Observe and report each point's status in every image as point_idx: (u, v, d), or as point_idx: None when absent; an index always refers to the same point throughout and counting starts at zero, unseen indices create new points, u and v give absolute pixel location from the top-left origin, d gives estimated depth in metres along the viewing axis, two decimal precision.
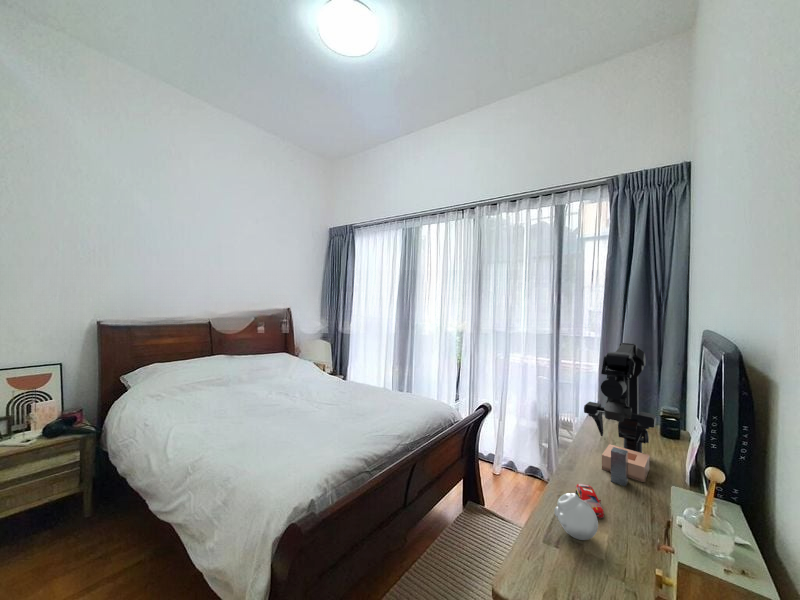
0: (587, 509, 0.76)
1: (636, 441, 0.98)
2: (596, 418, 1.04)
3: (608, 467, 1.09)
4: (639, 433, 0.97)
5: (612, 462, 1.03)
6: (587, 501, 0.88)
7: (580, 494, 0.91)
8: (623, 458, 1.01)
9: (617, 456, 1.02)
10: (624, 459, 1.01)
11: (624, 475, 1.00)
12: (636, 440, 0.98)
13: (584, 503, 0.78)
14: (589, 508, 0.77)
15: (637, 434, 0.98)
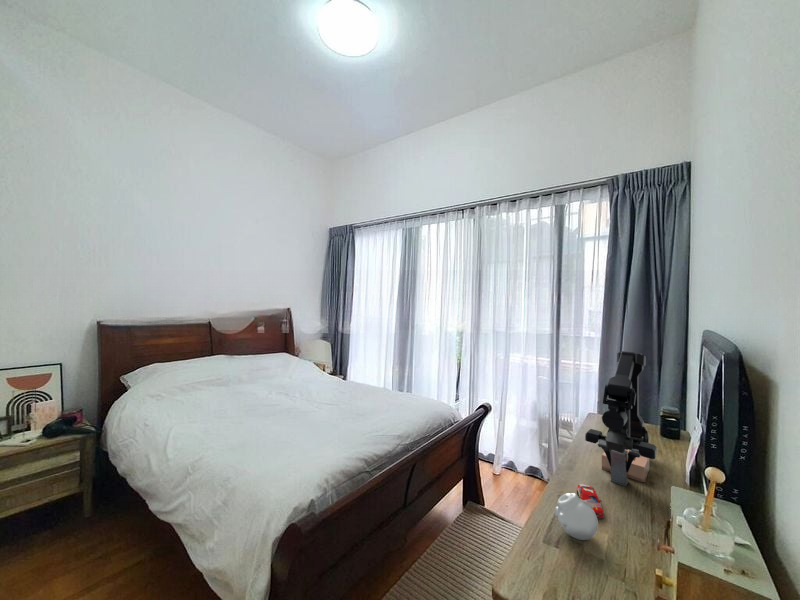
0: (587, 509, 0.76)
1: (627, 468, 1.01)
2: (606, 449, 1.04)
3: (608, 467, 1.09)
4: (630, 461, 1.00)
5: (612, 462, 1.03)
6: (587, 501, 0.88)
7: (581, 494, 0.91)
8: (623, 458, 1.01)
9: (617, 456, 1.02)
10: (624, 459, 1.01)
11: (624, 475, 1.00)
12: (627, 467, 1.01)
13: (584, 503, 0.78)
14: (589, 508, 0.77)
15: (628, 462, 1.00)
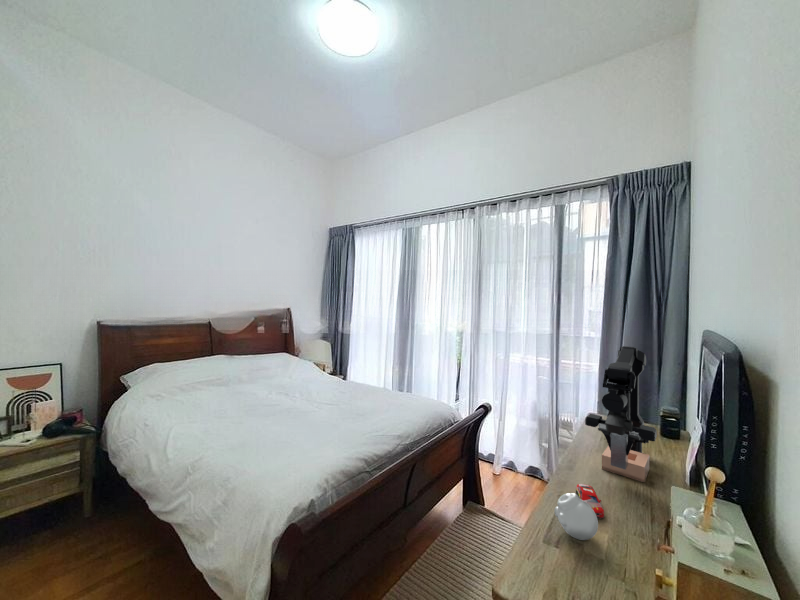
0: (587, 509, 0.76)
1: (627, 452, 1.01)
2: (606, 433, 1.04)
3: (608, 467, 1.09)
4: (630, 444, 1.00)
5: (612, 446, 1.03)
6: (587, 501, 0.88)
7: (580, 494, 0.91)
8: (623, 441, 1.01)
9: (617, 440, 1.02)
10: (624, 442, 1.01)
11: (624, 458, 1.00)
12: (627, 451, 1.01)
13: (584, 503, 0.78)
14: (589, 508, 0.77)
15: (628, 445, 1.00)
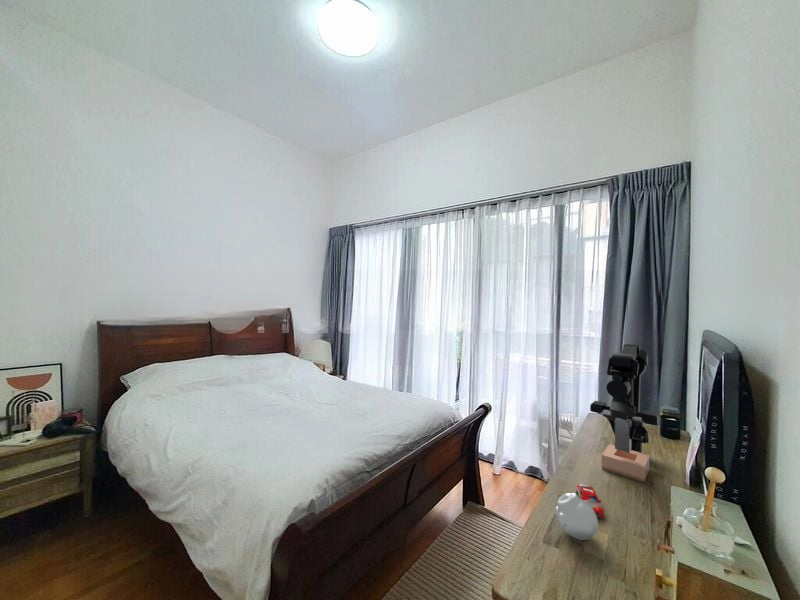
0: (587, 509, 0.76)
1: (631, 436, 1.06)
2: (610, 418, 1.09)
3: (608, 467, 1.09)
4: (634, 428, 1.05)
5: (616, 430, 1.08)
6: (588, 501, 0.88)
7: (581, 494, 0.91)
8: (627, 426, 1.05)
9: (621, 425, 1.07)
10: (628, 427, 1.05)
11: (628, 442, 1.05)
12: (631, 435, 1.06)
13: (584, 503, 0.78)
14: (589, 508, 0.77)
15: (632, 429, 1.05)
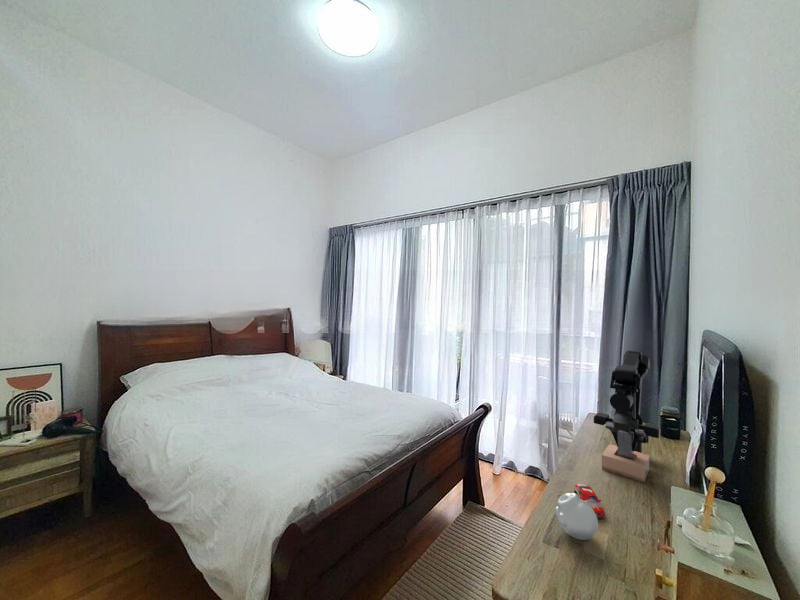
0: (587, 509, 0.76)
1: (633, 448, 1.09)
2: (613, 430, 1.12)
3: (608, 467, 1.09)
4: (636, 440, 1.08)
5: (619, 442, 1.11)
6: (588, 501, 0.88)
7: (580, 494, 0.91)
8: (629, 438, 1.09)
9: (624, 436, 1.10)
10: (630, 439, 1.09)
11: (630, 454, 1.08)
12: (633, 447, 1.09)
13: (584, 503, 0.78)
14: (589, 508, 0.77)
15: (634, 441, 1.08)
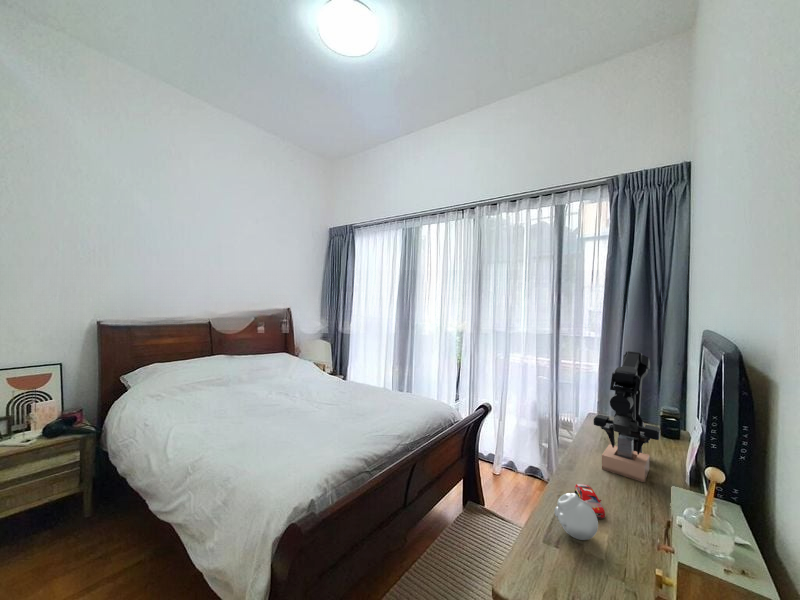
0: (587, 509, 0.76)
1: (638, 451, 1.08)
2: (608, 431, 1.13)
3: (608, 467, 1.09)
4: (641, 444, 1.07)
5: (618, 448, 1.11)
6: (588, 501, 0.88)
7: (580, 494, 0.91)
8: (629, 444, 1.09)
9: (624, 443, 1.10)
10: (630, 445, 1.08)
11: None
12: (638, 450, 1.08)
13: (584, 503, 0.78)
14: (589, 508, 0.77)
15: (639, 444, 1.07)
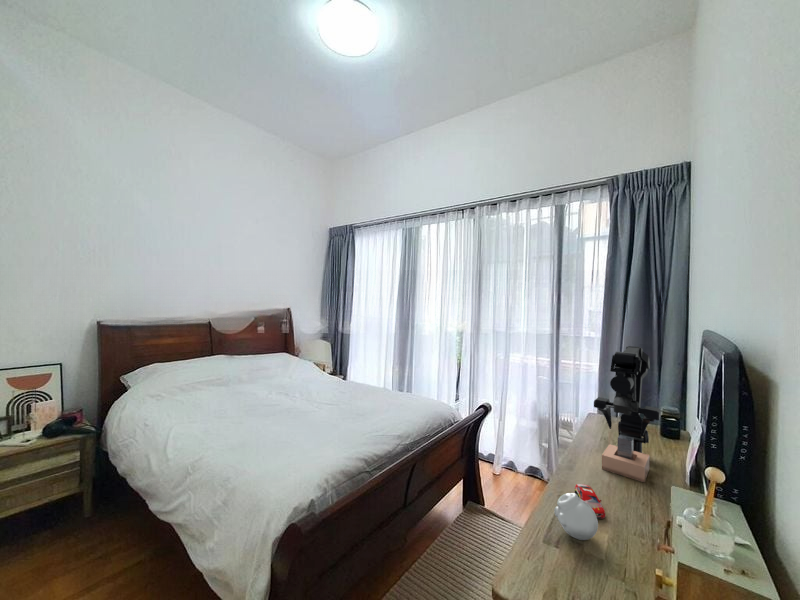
0: (586, 509, 0.76)
1: (642, 433, 1.07)
2: (605, 412, 1.13)
3: (608, 467, 1.09)
4: (645, 425, 1.06)
5: (618, 448, 1.11)
6: (588, 502, 0.88)
7: (580, 495, 0.91)
8: (629, 444, 1.09)
9: (624, 443, 1.10)
10: (630, 445, 1.08)
11: None
12: (642, 432, 1.07)
13: (584, 503, 0.78)
14: (589, 508, 0.77)
15: (643, 426, 1.07)
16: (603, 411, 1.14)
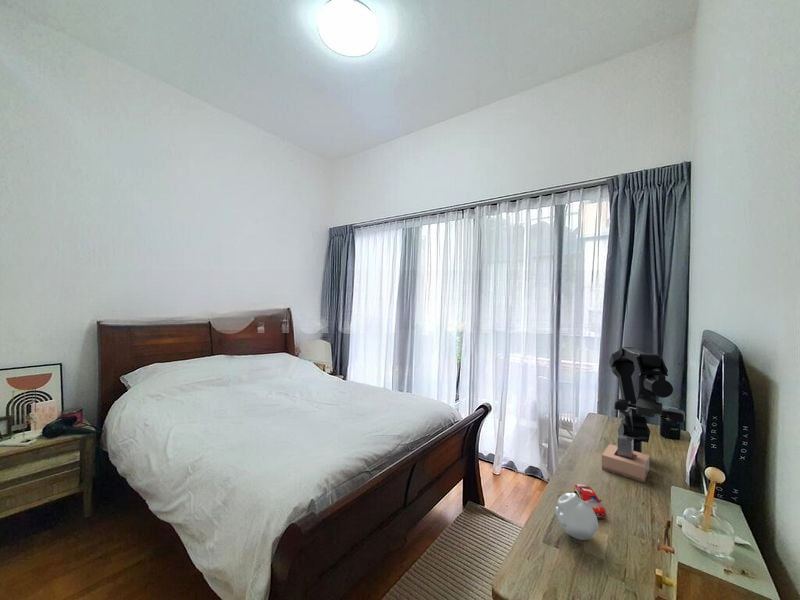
0: (587, 509, 0.76)
1: (666, 435, 1.05)
2: (627, 414, 1.11)
3: (608, 467, 1.09)
4: (669, 428, 1.04)
5: (618, 448, 1.11)
6: (589, 502, 0.88)
7: (581, 495, 0.91)
8: (629, 444, 1.09)
9: (624, 443, 1.10)
10: (630, 445, 1.08)
11: None
12: (666, 434, 1.05)
13: (584, 503, 0.78)
14: (589, 508, 0.77)
15: (667, 429, 1.05)
16: (624, 413, 1.12)
